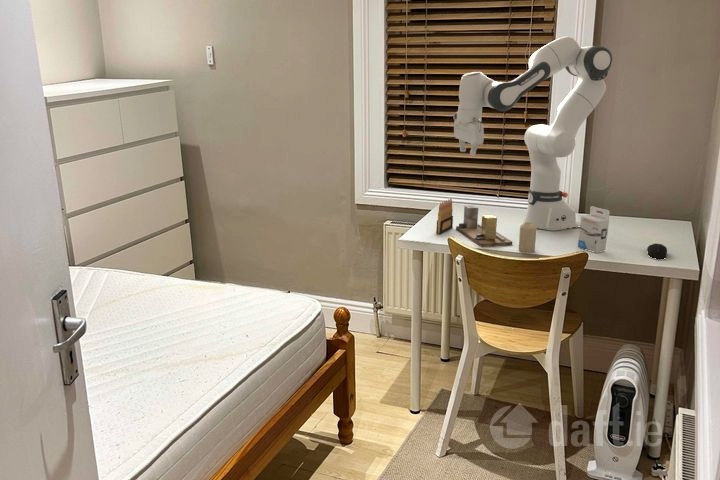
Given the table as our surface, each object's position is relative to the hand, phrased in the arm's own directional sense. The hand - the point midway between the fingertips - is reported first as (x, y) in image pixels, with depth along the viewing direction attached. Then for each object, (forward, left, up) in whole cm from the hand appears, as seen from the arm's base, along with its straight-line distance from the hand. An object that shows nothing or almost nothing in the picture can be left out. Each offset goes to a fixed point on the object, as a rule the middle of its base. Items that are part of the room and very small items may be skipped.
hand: (467, 153), depth 260 cm
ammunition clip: (+9, +3, -29) cm, 31 cm away
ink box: (-33, +37, -29) cm, 58 cm away
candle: (-10, +33, -29) cm, 45 cm away
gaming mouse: (-51, +48, -30) cm, 76 cm away
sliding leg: (0, +20, -28) cm, 34 cm away
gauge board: (-2, +14, -29) cm, 32 cm away
